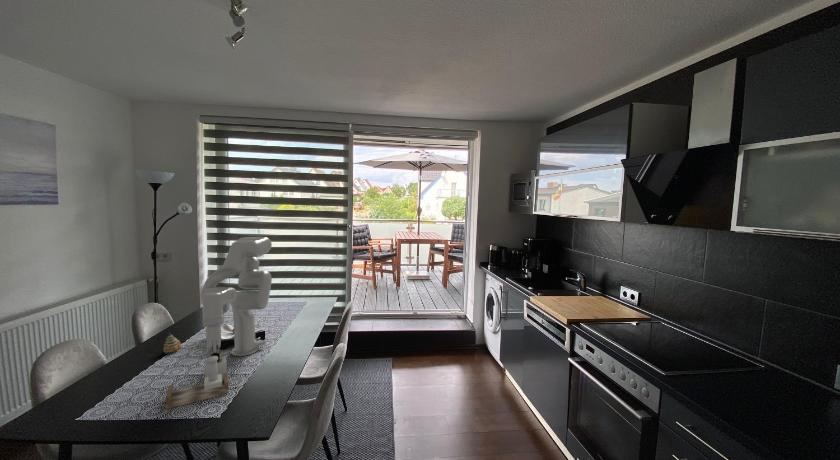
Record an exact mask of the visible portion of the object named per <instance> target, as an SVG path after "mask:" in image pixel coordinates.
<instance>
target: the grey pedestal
mask: <svg viewBox="0 0 840 460" xmlns="http://www.w3.org/2000/svg"><path fill="white" fill-rule="evenodd" d="M217 360H218V356H211V355H210V356H208V357H207V358H206V362H207V363H208V377H205V376H204V382H203V384H204V389H205V390H209V389H213V388H217V387H220V386H222V374H218V370H217Z"/></svg>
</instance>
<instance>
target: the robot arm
mask: <svg viewBox="0 0 840 460" xmlns="http://www.w3.org/2000/svg"><path fill="white" fill-rule="evenodd" d="M272 244H273V243H272V240H271V239H270V238H269V237H267V236H265V237H263V236H255V237H254V236H249V237H248V236H247V237H246V236H245V237H240V238H238V239H237V240H236V241H234V242H232V243H231V245H230V247H229V250H228V252H227V254H226V257H225V258H224V261H223V265H221V266H220V267H219V268H217V269H216V270H215V271H214V272H212V273H211V274H210V275H209V276H208V277H207V278H206V279H205V281H204V284H203V285H202V288H201V291H200V294H199V295H200V297H199V298H200V301H201V304H202V305H201V306H202V307H201V308H202V325H203V327H205V333H206V334H205V335H206V337H205V338H206V350H207V351H211V352H210V357H211V356H218V360H217V362H219V361H220V357H221V356H220V348H221V342H222V325H223V324H224V323H225V319H224V318H225V316H224V314H225V313H224V306H227V305H230V306H231V307H230V308H231V309H232V316H233V319H232V320H233V340H234V348H232V350H231V355H232V356H235V357H244V356H250V355H252V354H254V353H257V352H258V350H259V349H260V346H264V345H266V340H262V339H259V340H257V339H256V325H255V323H256V322H255V319H256V318H255V314H254V313H253V311H255V310H264V309H266V307H268V303H269V299H270V294H271V287H272V273H270V271H268V270H259V269H260V260H259V258H260V257H262V256H264V255H266V254H268V253H269V252H270V250H271V249H272ZM238 274H239V275H238ZM236 275H238V279H237V285H238V287H239V288H241V289H245V290H239V291H238V290H237V289H236V288H234V287H232V286H218V284H220V283H221V282H222V281H225V280H226V279H229V278H231V277H234V276H236ZM246 289H248V290H246ZM250 289H251V290H250ZM252 310H253V311H252Z"/></svg>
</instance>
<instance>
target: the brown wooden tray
mask: <svg viewBox="0 0 840 460" xmlns="http://www.w3.org/2000/svg"><path fill="white" fill-rule="evenodd" d="M225 394H229V379H228V372H227V373H224V379H222V386H220V387H217V388H213V389H209V390H205V389H204V383H202V384H198V385H194V386H190V387H186V388H181V389H177V390H173V385H168V387H167V391H166V395H165V404H166V410H169V409H172V408H177V407H180V406H184V405H187V404H192V403H195V402H199V401H202V400H207V399H211V398H214V397H217V396H221V395H225Z"/></svg>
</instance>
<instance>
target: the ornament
mask: <svg viewBox="0 0 840 460" xmlns="http://www.w3.org/2000/svg"><path fill="white" fill-rule="evenodd" d="M181 347H182V345H181V341H180V340H179V339H178V338H176V337H174V335H173V334H172V333H171V332H169V334H168V336H167V337H166V339H165V343H164V344H163V353H164V354H166V355H167V354H168V355H169V354H175V353H177V352H178V351H179V350H180V349H181Z"/></svg>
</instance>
